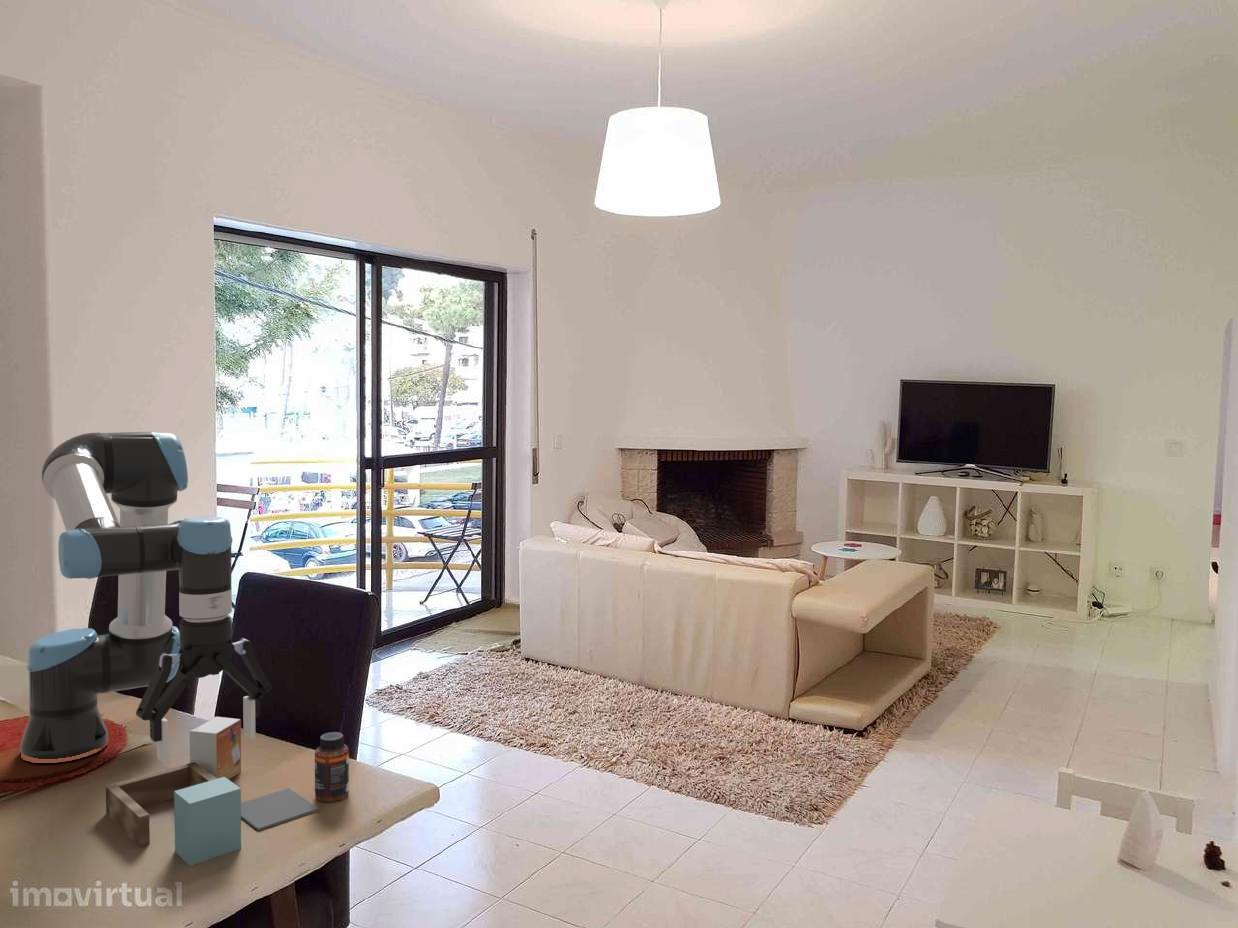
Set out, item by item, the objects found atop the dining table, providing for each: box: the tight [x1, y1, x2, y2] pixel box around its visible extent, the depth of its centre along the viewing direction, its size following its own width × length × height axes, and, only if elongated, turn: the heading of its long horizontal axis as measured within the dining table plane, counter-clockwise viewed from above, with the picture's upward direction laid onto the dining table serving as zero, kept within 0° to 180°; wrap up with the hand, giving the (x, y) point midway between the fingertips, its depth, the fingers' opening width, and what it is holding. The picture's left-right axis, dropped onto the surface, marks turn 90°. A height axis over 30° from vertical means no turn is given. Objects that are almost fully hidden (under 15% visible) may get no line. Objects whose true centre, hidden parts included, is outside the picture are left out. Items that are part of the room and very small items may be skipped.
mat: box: [241, 787, 320, 831], centre depth 164 cm, size 11×11×1 cm
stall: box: [105, 762, 218, 848], centre depth 160 cm, size 16×15×5 cm
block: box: [173, 777, 242, 867], centre depth 149 cm, size 6×8×10 cm
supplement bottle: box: [314, 731, 350, 803], centre depth 169 cm, size 6×6×11 cm
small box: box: [189, 716, 242, 780], centre depth 175 cm, size 8×6×10 cm
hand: (207, 748), depth 148 cm, fingers open, 13 cm apart
